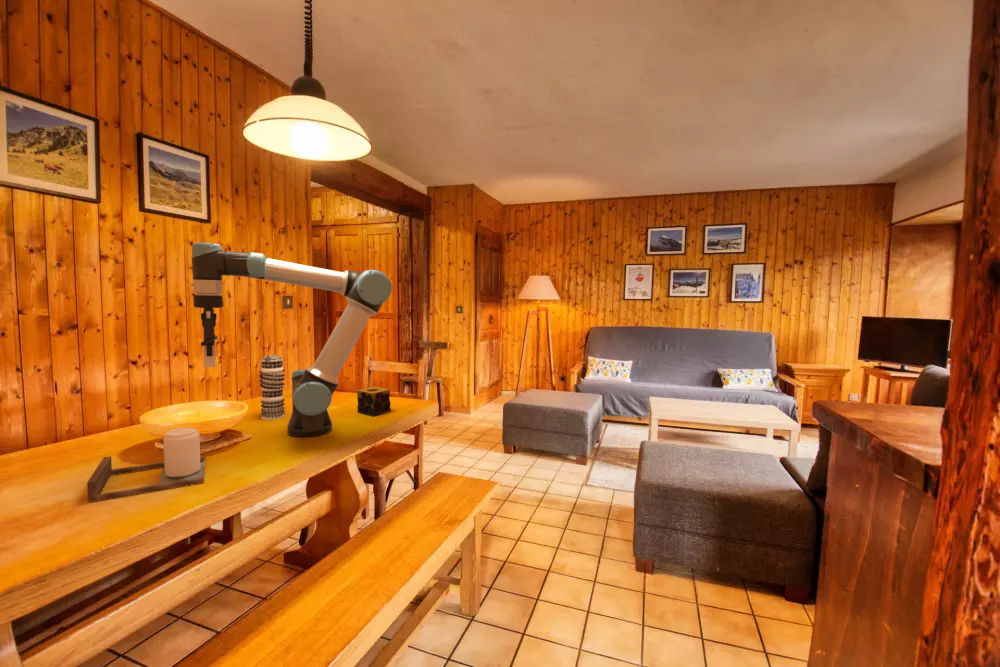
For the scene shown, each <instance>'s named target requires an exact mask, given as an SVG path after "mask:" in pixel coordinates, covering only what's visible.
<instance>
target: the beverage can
mask: <svg viewBox="0 0 1000 667" xmlns="http://www.w3.org/2000/svg"><path fill="white" fill-rule="evenodd" d="M162 440H163V458H164V459H163V460H164V461H163V462H164V463H165V475H166V476H169V477H175V478H177V477H185V476H189V475H192V474H194V473H195V472H197V471H199V470H200V468H201V465H200V457H201V445H200V444H201V443H200V441H201V439H200V432H199V431H198V429H197V427H191V426H189V427H185V426H184V427H178V428H174V429H171V430H168V431H166V432H165V435H164V437H163V439H162Z"/></svg>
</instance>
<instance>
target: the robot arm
mask: <svg viewBox="0 0 1000 667" xmlns="http://www.w3.org/2000/svg"><path fill="white" fill-rule="evenodd" d="M191 269H192V282H191V283H190V286H191V287H192V292H193V294H194V295H193V296H192V297H193V298H192V299H193V307H194V308H196V309H197V308H199V309H201V308H202V309H203V312H202V313H200V320H201V327H203V342H200V346H203V358H204V360H203V362H204V364H203V365H204V368H216V360H217V354H216V340H218V336H217V335H216V334H215V327H216V325H217V322H216V321H217V318H218V317H217V313H215V310H214V309H216V308H217V309H218V308H223V307H224V298H223V295H221V294H224V291H223V288H224V287H223V285H224V283H223V276H226V277H229V276H231V277H233V276H234V277H245V278H249V279H250V278H252V279H258V280H265V281H269V282H270V281H271V282H275V283H281V284H282V283H283V284H288V285H294V286H300V287H305V288H312V289H318V290H325V291H330V292H335V293H340V294H341V296H343V297H346V301H347V305H346V307H345V309H344V310H343V312H342V314H341V316H340V318H339V320H338V321H337V323H336V325H335V327H334V328H333V330H332V332H331V333H330V335H329V337H328V339H327V341H326V342H325V344H324V346H323V348H322V349H321V351H320V353H319V355H318V357H317V358H316V360H315V362H314V364H313V365H312V366H309V367H306V368H305V369H298V370H293V371H292V374H291V388H292V389H291V395H292V398H291V400H292V404H291V405H292V412H291V415H290V417H289V421H288V424H287V434H288V435H289V436H292V437H299V438H307V437H309V436H310V437H316V436H317V437H318V436H321V435H325V434H327V433H330V431H332V430H333V424H332V423H333V422H332V419H331V417H330V415H329V411H328V408H329V407H330V405H331V402H332V399H333V395H334V393H335V391H336V389H337V387H338V385H339V383H340V382H339V380H338V376H339V374H340V372H341V370H342V369H343V367H344V365H345V363H346V361H347V360H348V358H349V356H350V354H351V353H352V351H353V349H354V347H355V345H356V344H357V342H358V340H359V338H360V337H361V334H363V331H364V329H365V327H366V326H367V323H368V322H369V320H370V319H371V317H372V316H375V315H377V314H378V313H379V311H380V309H381V308H382V306H383V304H384V303H385V302H387V300H389V298H390V297H391V295H392V290H393V285H392V283H391V280H390V278H389V277H388V275H387V274H385V273H384V272H382V271H380V270H377V269H367V270H363V271H357V270H356V271H355V270H348V269H346V270H344V271H339V270H333V269H327V268H323V267H317V266H313V265H312V266H311V265H305V264H300V263H296V262H290V261H285V260H279V259H274V258H269V257H267V258H266V255H265V253H264V254H263V253H260V252H255V251H253V252H252V251H251V252H249V251H247V252H246V251H229V250H228V251H227V250H223V249H222V246H221V245H220V244H219V243H212V242H195V243H193V244H192V246H191Z"/></svg>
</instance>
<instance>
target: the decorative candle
mask: <svg viewBox="0 0 1000 667" xmlns="http://www.w3.org/2000/svg"><path fill="white" fill-rule="evenodd" d="M283 360H284V359H283V358H282V357H281V355H277V354H272V355H265V356H263V357H262V359H261V360H260V362H261V367H260V370H259V371H258V373H259V376H258V377H259V378H260V380H259V383H260V384H259V386H260V387H261V388H260V390H261V401H260V403H261V405H260V407H261V409H260V412H261V413H260V414H261V415H260V416H261V420H264V421H265V420H266V421H267V420H268V421H273V420H274V421H275V420H279V419H282V417H283V418H284V417H285V399H284V388H285V383H284V382H283V381H285V380H286V379H285V374H284V372H286V370H285V369H284V366H283Z"/></svg>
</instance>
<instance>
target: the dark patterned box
mask: <svg viewBox="0 0 1000 667" xmlns="http://www.w3.org/2000/svg"><path fill="white" fill-rule="evenodd" d="M356 394H357V395H356V397H357V407H356V408H357V413H358V414H362V415H365V416H370V417H376V416H375V415H377V416H380V415H382V413H383V414H385V413H384V412H387V413H389V412H388V411H390V412H391V411H392V410H391V400H390V398H391V397H390V396H391V389H390V388H386V387H385V388H384V387H379V386H370V387H367V388H362V389H358V390H356ZM379 414H380V415H379Z"/></svg>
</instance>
